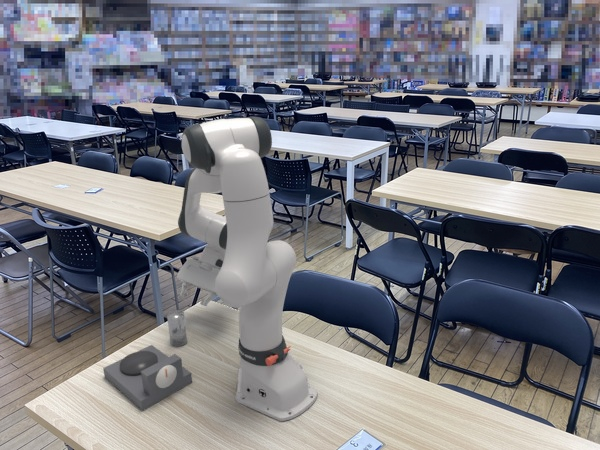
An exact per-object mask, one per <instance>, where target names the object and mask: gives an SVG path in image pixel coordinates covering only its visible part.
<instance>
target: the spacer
mask: <svg viewBox="0 0 600 450" xmlns="http://www.w3.org/2000/svg"><path fill="white" fill-rule="evenodd" d="M166 318H167V325H168V334H169V340H170V346H171V347H172V348H173V347H174V348H182V347H184V346H185V345H186V344H188V337H187V327H186V319H185V318H186V317H185V312H184V311H183V310H181V309H176V310H171V311H169V312H168V313H167V315H166Z"/></svg>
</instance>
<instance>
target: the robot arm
mask: <svg viewBox="0 0 600 450" xmlns="http://www.w3.org/2000/svg"><path fill="white" fill-rule="evenodd" d="M181 135H182V137H181V138H182V139H181V149H182V153H183V155H184V157H185V159H186V162H187V163H188V164H189V165H191V166H192V167H193V168H192V169H191V170H190V171H189V173H188V174H187V176H186V180H185V184H184V190H183V194H182V203H181V210H180V214H179V216H178V220H177V225H178V226H177V227H178V229H179V231H180V233H181V234H182V235H183V236H186V237H189V238H194V239H196V240H198V241H200V242H203V243H206V244H207V245H206V246H205V247H204V248H203V251H202V252H201V254H200V256H199V257H197V256H196V255H193V256H190V257H188V259H187V260H186V261H185V262H184V264H182V266H181V267H180V269H179V271H178V272H177V274H176V278H177V279H178V280H179V281H181V282H182V284H181V291H180V293H179V296H180V297H182V298H184V299H186V298H187V297H188V295H189V293H188V288H190V286H192V287H195V288H197V289H201V290H202V291H206V292H208V293H207V296H206V297H205V298H202V299H201V301H200V304H199V305H201V306H204V307H207V306H208V304H209V303H210V302H211V301H212V300H214V299H215V298H216V296H218V298H219V299H220V300H221V301H222V302H223V303H224V304H225V305H227V306H229V307H231V308H236V309H239V308H240V309H239V313H238V326H239V330H238V331H239V338H238V347H237V348H238V353H239V356H240V358H239V359H240V360H239V365H238V373H237V374H238V376H237V383H236V394H235V398H234V399H235V402H237V403H239V404H241V405H243V406H246V407H247V408H250V409H252V410H255V411H257V412H259V413H260V414H263V415H266V416H268V417H270V418H272V419H275V420H277V421H279V422H284V421H285V422H286V421H289V420H293V419H294V418H297V417H298V416H300V415H301V414H303V413H304V412H306V411H307V410H308V409H309V408H310V407H312V405H313V404H314V403H315V402H316V400H317V399H318V391H317V389H316V388H315V387H314V386H312V385H311V384H310V383H309V381H308V377H307V374H306V372H305V371H304V370H303V365H302V362H300V361H298V362H297V361H296V360H295V359H294V357H293V356H292V355H291V353H290V351H291V345H289V346H287V343H286V340H285V337H284V335H283V309H284V304H285V299H286V294H287V290H288V287H289V282H290V279H291V277H292V274H293V273H294V270H295V268H296V265H297V263H298V262H297V255H296V251H295V250H294V249H293V246H291V244H289V243H288V242H286V241H284V240H280V239H278V240H272V241H269V237H270V234H271V232H272V231H273V228H274V215H273V208H272V202H271V195H270V188H269V183H268V179H267V175H266V170H265V167H264V164H263V160H262V159H263V158H264V157H266V156H268V154H269V153H270V152H271V149H272V145H273V142H272V141H273V137H272V132H271V128H270V126H269V124H268V122H267V121H266V120H264V118H262V117H259V116H248V117H236V118H219V119H215V120H210V121H205V122H202V123H197V122H196V123H195V124H192V125H191V124H190V125H189V126H187V127H185V128H184V130H183V131H182V134H181ZM219 193H221V195H222V202H223V207H224V213H225V214H224V215H221V214H218V213H215V212H213V211H210V210H208V209H206V208H205V207H203V206H202V205H201V204H200V201H201V195H202V194H219Z"/></svg>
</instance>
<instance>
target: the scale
mask: <svg viewBox="0 0 600 450" xmlns="http://www.w3.org/2000/svg"><path fill="white" fill-rule="evenodd" d="M102 370H103V374H104V378H105V379H106V380H107V381H108V382H109V383H111V384H112V385H113V386H114V388H116V389H117V390H118V391H120V393H122V394H123V396H125V397H126V398H127V399H129V400H130V401H131V402H132V403H133V404H134V405H135V406H136V407H137V408H139V409H140V410H141V412H144V411H145V410H147V409H149V408H150V407H152V406H154V405H155V404H157V403H159V402H161V401H162V400H164V399H166V398H168V397H169V396H171V395H173V394H174V393H176V392H178V391H179V390H181V389H183V388H185V387H186V386H188V385H190V384H191V383H193V376H192V372H191V371H189V370H188V369H187V368H185V367H184V366H183V362H182V357H180V356H179V355H177V354H176V353H174V354H172V355H170V356H168V355H167V354H166V353H164V352H163V351H161V350H160V349H158V348H157V347H155V346H154V345H153V344H151V345H148V346H146V347H144V348H142V349H140V350H138V351H135V352H132V353H130V354H128V355H126V356H125V357H123V358H122V359H121V358H120V359H119V360H117V361H115V362H112V363H111V364H109V365H107V366H105V367H103V369H102Z"/></svg>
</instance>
